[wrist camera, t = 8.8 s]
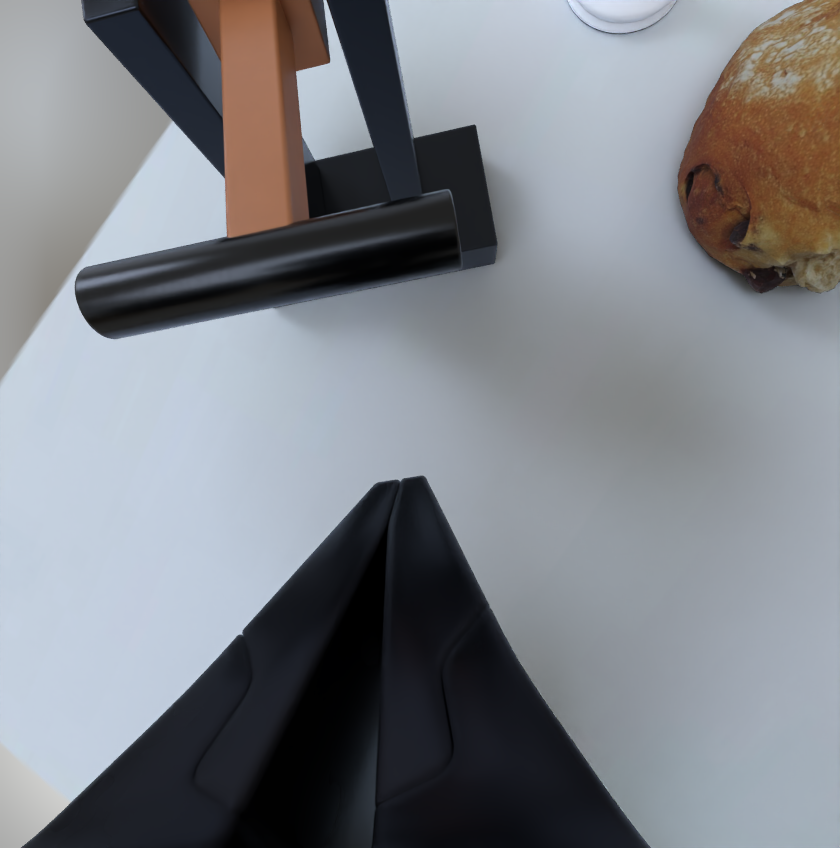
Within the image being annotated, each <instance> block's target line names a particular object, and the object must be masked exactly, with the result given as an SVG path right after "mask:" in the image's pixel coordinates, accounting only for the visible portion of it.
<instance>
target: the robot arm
mask: <svg viewBox="0 0 840 848" xmlns="http://www.w3.org/2000/svg"><path fill="white" fill-rule="evenodd" d="M242 634H243V635H238V636H237V637H236V638H235V639H234V640H233V641H232V643H231V644H230V645H229V646H228V647H227V648H226V649H225V650H224V651H223V652H222V654H221V655H220V656H219V657H218V658H217V659H216V660H215V661H214V662H213V663H212V664H211V665H210V666H209V668H208V669H207V670H206V671H205V672H204V673H203V674H202V675H201V676H200V677H199V678H198V679H197V680H196V681H195V682H194V683H193V685H192V686H191V687H190V688H189V689H188V690H187V691H186V692H185V693H184V694H183V695H182V696H181V697H180V698H179V699H178V700H177V701H176V702H175V703H174V704H173V705H172V706H171V707H170V708H169V709H168V710H167V711H166V712H165V713H164V714H163V715H162V716H161V717H160V718H159V719H158V720H157V721H155V722H154V723H153V724H152V725H151V726H150V727H149V728H148V729H147V730H146V731H145V732H144V733H143V734H142V735H141V736H140V737H139V738H138V739H137V740H136V741H135V742H134V743H133V744H132V745H131V746H130V747H129V748H128V749H126V750H125V751H124V752H123V753H122V754H121V755H120V756H119V757H118V758H117V759H116V760H115V761H114V762H113V763H112V764H111V765H110V766H109V767H108V768H107V769H106V770H105V771H104V772H103V773H101V774H100V775H99V776H98V777H97V778H96V779H95V780H94V781H93V782H92V783H91V784H90V785H89V786H88V787H87V788H86V789H85V790H84V791H83V792H82V793H81V794H80V795H79V796H78V797H77V798H75V799H74V800H73V801H72V802H71V803H70V804H69V805H68V806H67V807H66V808H65V809H64V810H63V811H62V812H61V813H60V814H59V815H58V816H57V817H56V818H55V819H54V820H52V821H51V822H50V823H49V824H48V825H47V826H46V827H45V828H44V829H43V830H41V831H40V832H39V833H38V834H37V835H36V836H35V837H34V838H32V839H31V840H30V841H29V842H27V843H26V844H25V845H24V846H22V847H21V848H651V847H650V846H649V845H648V844H647V843H646V841H645V840H644V839H643V838H642V836H641V835H640V834H639V833H638V831H637V830H636V829H635V827H634V826H633V825H632V823H631V822H630V821H629V819H628V818H627V817H626V816H625V814H624V813H623V811H622V810H621V809H620V807H619V806H618V805H617V803H616V802H615V801H614V799H613V798H612V797H611V795H610V794H609V792H608V791H607V790H606V788H605V787H604V785H603V784H602V782H601V781H600V780H599V778H598V777H597V775H596V774H595V772H594V771H593V770H592V768H591V767H590V765H589V764H588V762H587V761H586V759H585V758H584V757H583V755H582V754H581V752H580V751H579V749H578V748H577V747H576V745H575V744H574V742H573V741H572V739H571V738H570V737H569V735H568V734H567V732H566V731H565V729H564V728H563V727H562V725H561V724H560V722H559V721H558V719H557V718H556V717H555V715H554V714H553V712H552V711H551V709H550V708H549V707H548V705H547V704H546V702H545V701H544V699H543V698H542V696H541V695H540V693H539V692H538V690H537V689H536V687H535V686H534V684H533V683H532V681H531V679H530V678H529V676H528V675H527V673H526V672H525V670H524V669H523V667H522V665H521V664H520V662H519V661H518V659H517V657H516V655H515V653H514V652H513V650H512V648H511V646H510V644H509V642H508V641H507V639H506V637H505V635H504V633H503V632H502V630H501V628H500V626H499V624H498V622H497V620H496V617H495V615H494V613H493V611H492V610H491V609H490V607H489V604H488V602H487V600H486V598H485V596H484V594H483V592H482V590H481V588H480V586H479V584H478V582H477V580H476V578H475V576H474V574H473V572H472V570H471V568H470V566H469V564H468V562H467V560H466V558H465V556H464V554H463V552H462V550H461V548H460V546H459V543H458V541H457V539H456V537H455V535H454V533H453V531H452V529H451V527H450V525H449V523H448V521H447V519H446V517H445V515H444V513H443V511H442V509H441V507H440V505H439V503H438V501H437V499H436V497H435V495H434V493H433V491H432V489H431V487H430V485H429V483H428V481H427V479H426V477H424V476H416V477H410V478H404V479H402V480H401V482H400V481H399V480H390V481H384V482H378V483H376V484H375V485H374V486H373V487H372V488H371V489H370V490H369V491H368V492H367V493H366V495H365V496H364V497H363V498H362V499H361V500H360V501H359V502H358V503H357V505H356V506H355V507H354V508H353V509H352V510H351V511H350V512H349V513H348V514H347V516H346V517H345V518H344V519H343V520H342V521H341V522H340V523H339V524H338V526H337V527H336V528H335V529H334V530H333V531H332V532H331V533H330V534H329V535H328V537H327V538H326V539H325V540H324V541H323V542H322V543H321V544H320V545H319V547H318V548H317V549H316V550H315V551H314V552H313V553H312V554H311V555H310V557H309V558H308V559H307V560H306V561H305V562H304V563H303V564H302V565H301V566H300V568H299V569H298V570H297V571H296V572H295V573H294V574H293V575H292V576H291V578H290V579H289V580H288V581H287V582H286V583H285V584H284V585H283V586H282V587H281V589H280V590H279V591H278V592H277V593H276V594H275V595H274V596H273V597H272V599H271V600H270V601H269V602H268V603H267V604H266V605H265V606H264V607H263V609H262V610H261V611H260V612H259V613H258V614H257V615H256V616H255V617H254V618H253V620H252V621H251V622H250V623H249V624H248V625H247V626H246V627H245V628H244V630H243V632H242Z"/></svg>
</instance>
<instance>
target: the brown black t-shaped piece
mask: <svg viewBox="0 0 840 848" xmlns="http://www.w3.org/2000/svg"><path fill="white" fill-rule="evenodd" d="M188 2H189V4H190V6H191V8H192V10H193V12H194V13H195V15H196V17H197V19H198V21H199V23H200V24H201V26H202V28H203V30H204V32H205V34H206V36H207V37H208V39H209V41H210V43H211V45H212V47H213V48H214V50H215V52H216V54H217V56H218V58H219V60H220V61H221V75H222V104H223V133H224V162H225V192H226V221H227V237H223V238H218V239H214V240H209V241H204V242H200V243H195V244H191V245H186V246H181V247H177V248H172V249H168V250H163V251H158V252H154V253H149V254H144V255H140V256H135V257H131V258H126V259H121V260H117V261H112V262H107V263H103V264H98V265H94V266H89V267H86V268H84V269H82V270H81V271H80V272H79V274H78V275H77V277H76V281H75V295H76V300H77V303H78V306H79V309H80V311H81V313H82V315H83V316H84V318H85V320H86V321H87V322H88V324H89V325H90V326H91V327H92V328H93V329H94V330H95V331H96V332H97V333H99V334H100V335H102V336H104V337H107V338H110V339H119V338H124V337H129V336H134V335H139V334H144V333H149V332H154V331H159V330H164V329H169V328H174V327H179V326H184V325H189V324H194V323H199V322H204V321H209V320H214V319H219V318H224V317H229V316H234V315H239V314H244V313H249V312H254V311H259V310H264V309H269V308H274V307H279V306H284V305H289V304H294V303H299V302H304V301H309V300H314V299H319V298H324V297H329V296H334V295H339V294H344V293H349V292H354V291H359V290H363V289H368V288H373V287H378V286H383V285H388V284H393V283H398V282H403V281H408V280H413V279H418V278H423V277H428V276H433V275H438V274H443V273H448V272H453V271H458V270H461V269H462V254H461V246H460V239H459V232H458V226H457V220H456V214H455V209H454V203H453V198H452V194H451V192H450V190H449V189H445V190H440V191H435V192H431V193H426V194H422V195H417V196H412V197H408V198H403V199H398V200H394V201H389V202H385V203H380V204H375V205H371V206H366V207H361V208H357V209H352V210H348V211H343V212H338V213H334V214H329V215H325V216H320V217H315V218H311V219H309V211H308V200H307V189H306V178H305V167H304V156H303V145H302V133H301V122H300V111H299V100H298V89H297V78H296V71H299V70H303V69H307V68H312V67H316V66H320V65H324V64H328V63H330V54H329V45H328V37H327V28H326V20H325V11H324V3H323V0H188Z"/></svg>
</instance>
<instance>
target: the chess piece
mask: <svg viewBox="0 0 840 848" xmlns="http://www.w3.org/2000/svg"><path fill="white" fill-rule="evenodd" d="M568 2H569V4H570V6H571V8H572V10H573V11H574V12H575V14H576V15H577V16H578V17H579V18H580V19H581V20H582V21H584V22H585V23H586V24H588V25H590V26H591V27H593V28H596V29H598V30H601V31H605V32H610V33H629V32H634V31H638V30H641V29H644V28H646V27H648V26H650V25H652V24H654V23H655V22H657V21H658V20H660V19H661V18H662V17H663V16H664V15H666V14H667V13H668V11H669V10H670V9H671V8H672V7H673V5H674V4H675V2H676V0H568Z"/></svg>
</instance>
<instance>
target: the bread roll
mask: <svg viewBox="0 0 840 848" xmlns="http://www.w3.org/2000/svg"><path fill="white" fill-rule="evenodd" d="M678 194H679V199H680V202H681V206H682V209H683V212H684V215H685V218H686V221H687V224H688V227H689V230H690V232H691V233H692V235H693V236H694V238H695V239H696V240H697V242H698V243H699V244H700V245H701V246H702V247H703V248H704V250H705V251H706V252H707V253H708V255H709V256H711V257H712V258H714V259H716V260H718V261H719V262H721V263H723V264H724V265H726V266H727V267H729V268H731V269H732V270H734V271H736V272H738V273H740V274H742V275H743V276H744V277H745V278H746V280H747V281H748V283H749V284H750V285H751V287H752V288H753V289H754V290H755V291H756V292H760V293H764V292H767V291H769V290H772V289H774V288H775V287H777V286H779V287H783V286H793V285H799V286H801V287H806V288H808V290H810V291H812V292H817V293H822V292H824V291H826V292H828V291H830V290H832V289H834V288H835V286H836V285H837V284H838V282H839V281H840V0H804V1H803V2H800V3H797V4H795V5H793V6H790V7H788V8H786V9H784V10H783V11H781V12H780V13H778V14H777V15H775V16H774V17H772V18H771V19H769V20H767V21H766V22H764V23H762V24H761V25H760V26H758V27H757V28H756V29H755V30H754V31H753V32H752V33H751V34H750V35H749V36H748V37H747V39H746V40H745V41H744V42H743V43H742V44H741V46H740V47H739V49H738V50H737V51H736V53H735V54H734V55H733V57H732V58H731V60H730V61H729V63H728V64H727V66H726V67H725V69H724V70H723V72H722V73H721V76H720V78H719V80H718V82H717V84H716V85H715V87H714V88H713V90H712V92H711V93H710V95H709V96H708V98H707V101H706V105H705V108H704V110H703V111H702V113H701V115H700V116H699V118H698V119H697V121H696V123H695V125H694V127H693V131H692V134H691V137H690V140H689V143H688V145H687V147H686V149H685V152H684V157H683V160H682V162H681V166H680V169H679V173H678Z"/></svg>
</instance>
